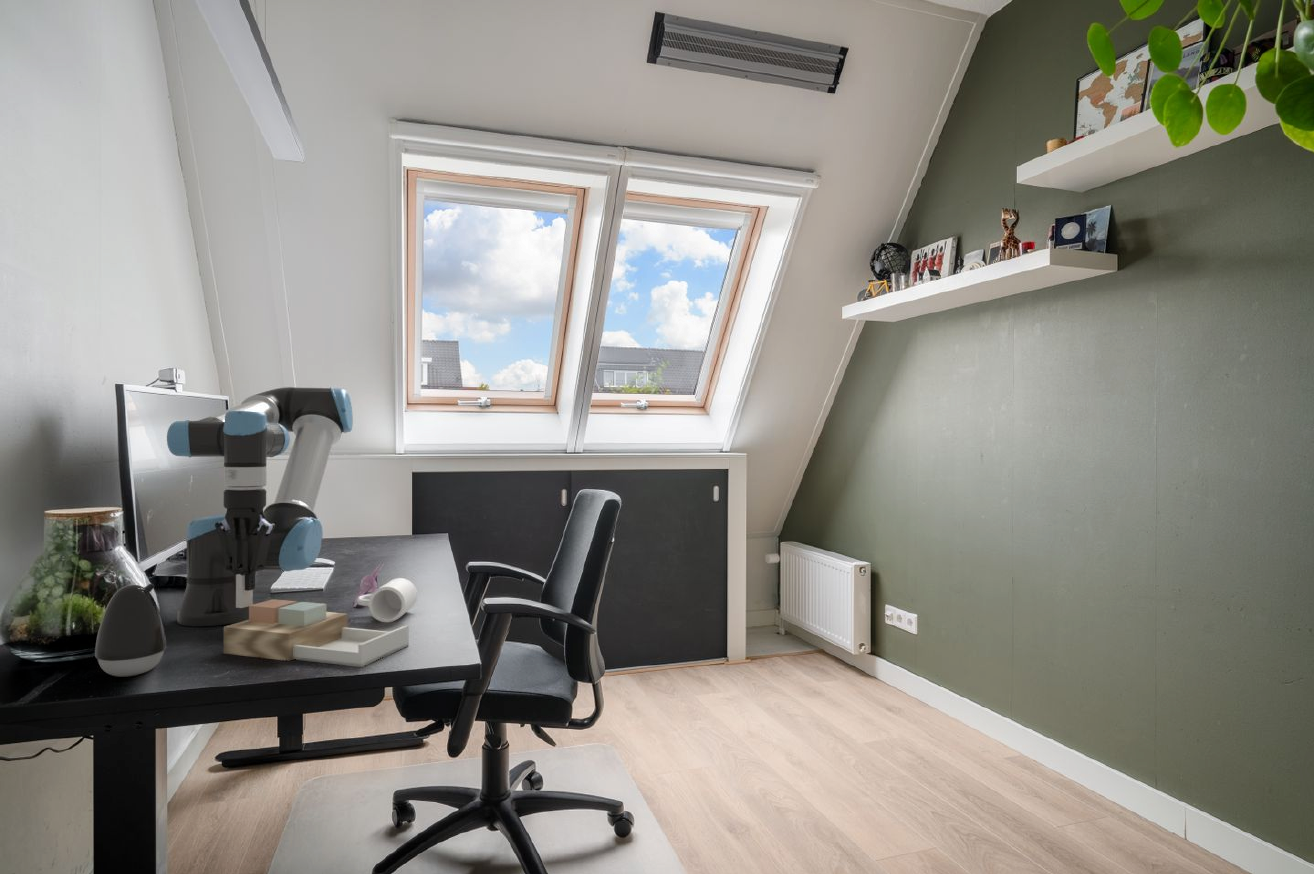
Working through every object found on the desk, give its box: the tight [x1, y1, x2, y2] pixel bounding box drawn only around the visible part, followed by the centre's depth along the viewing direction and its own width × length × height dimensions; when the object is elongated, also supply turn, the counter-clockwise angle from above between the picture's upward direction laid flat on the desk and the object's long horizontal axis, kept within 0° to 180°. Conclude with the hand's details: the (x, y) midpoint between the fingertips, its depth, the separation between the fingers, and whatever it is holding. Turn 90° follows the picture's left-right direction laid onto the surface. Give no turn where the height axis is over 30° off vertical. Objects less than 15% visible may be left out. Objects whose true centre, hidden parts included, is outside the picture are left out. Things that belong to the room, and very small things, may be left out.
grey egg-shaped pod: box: [94, 583, 167, 678], centre depth 133 cm, size 10×10×15 cm
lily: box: [353, 563, 385, 608], centre depth 187 cm, size 12×12×10 cm
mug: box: [357, 577, 418, 623], centre depth 173 cm, size 12×10×8 cm
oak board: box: [223, 611, 349, 662], centre depth 150 cm, size 15×16×5 cm
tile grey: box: [278, 601, 327, 626], centre depth 149 cm, size 6×6×3 cm
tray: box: [292, 625, 410, 668], centre depth 146 cm, size 15×14×4 cm
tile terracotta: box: [248, 598, 298, 624], centre depth 151 cm, size 6×6×3 cm
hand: (244, 606), depth 153 cm, fingers closed
